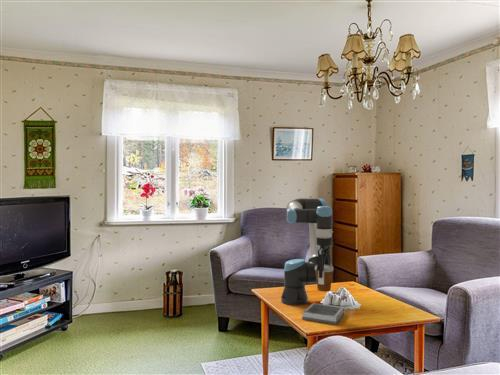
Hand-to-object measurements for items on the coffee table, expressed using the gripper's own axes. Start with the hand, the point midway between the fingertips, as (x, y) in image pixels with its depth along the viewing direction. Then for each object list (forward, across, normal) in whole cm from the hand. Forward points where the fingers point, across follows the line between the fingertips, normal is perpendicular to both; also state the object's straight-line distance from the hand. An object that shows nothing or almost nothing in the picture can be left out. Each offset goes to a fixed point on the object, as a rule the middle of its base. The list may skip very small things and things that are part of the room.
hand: (324, 281), depth 202 cm
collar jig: (+18, 0, 0) cm, 18 cm away
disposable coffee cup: (+4, 0, 0) cm, 4 cm away
